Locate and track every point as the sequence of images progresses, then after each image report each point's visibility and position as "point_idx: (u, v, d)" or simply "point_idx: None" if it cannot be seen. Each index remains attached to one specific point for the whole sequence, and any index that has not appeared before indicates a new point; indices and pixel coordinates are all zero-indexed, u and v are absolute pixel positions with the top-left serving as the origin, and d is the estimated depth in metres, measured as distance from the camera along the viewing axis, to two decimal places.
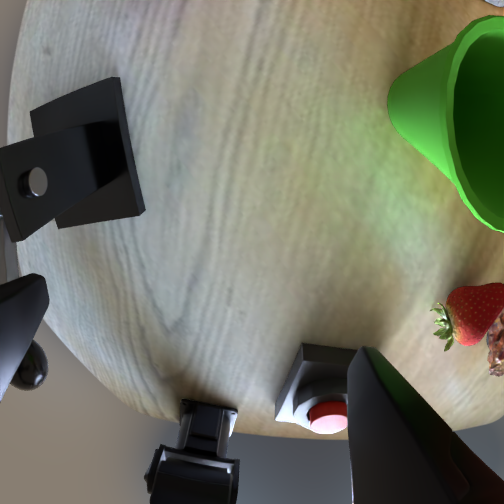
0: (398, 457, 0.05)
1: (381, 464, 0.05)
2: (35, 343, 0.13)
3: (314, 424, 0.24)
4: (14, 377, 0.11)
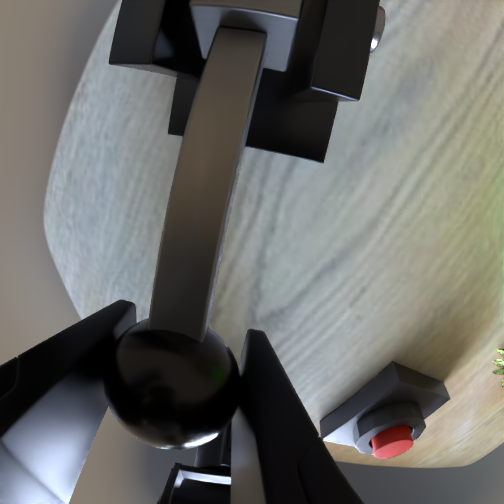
0: (248, 453, 0.04)
1: (240, 459, 0.05)
2: None
3: (382, 448, 0.20)
4: (185, 435, 0.05)
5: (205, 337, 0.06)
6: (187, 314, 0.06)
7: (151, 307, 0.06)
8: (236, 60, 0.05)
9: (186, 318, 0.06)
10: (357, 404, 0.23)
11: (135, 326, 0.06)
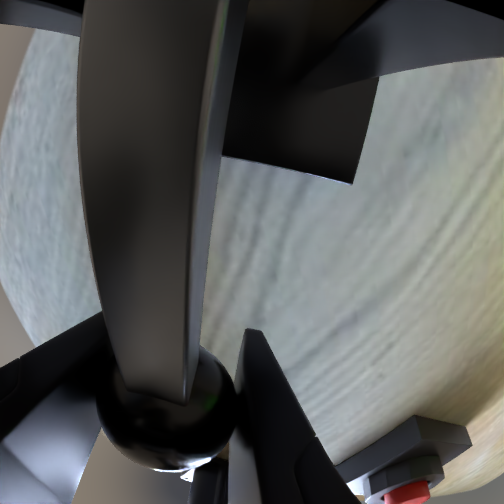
0: (244, 453, 0.04)
1: (237, 458, 0.05)
2: (215, 366, 0.06)
3: None
4: None
5: (191, 396, 0.05)
6: (164, 391, 0.04)
7: (123, 379, 0.04)
8: None
9: (164, 394, 0.04)
10: (370, 459, 0.18)
11: (114, 375, 0.05)
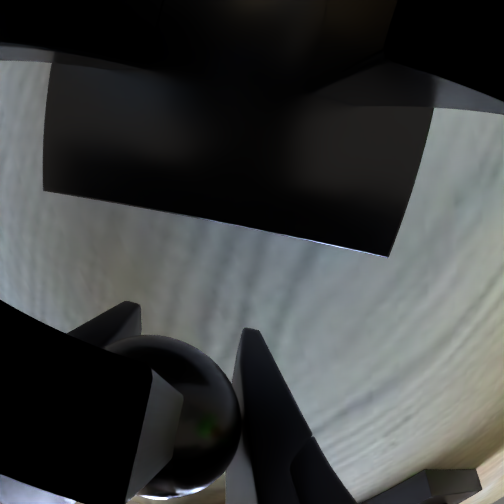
0: (241, 452, 0.04)
1: (234, 458, 0.05)
2: (209, 394, 0.04)
3: None
4: None
5: (175, 448, 0.03)
6: None
7: (85, 440, 0.03)
8: None
9: None
10: None
11: None
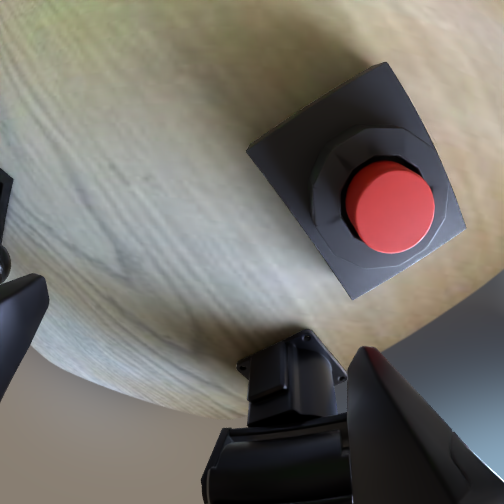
0: (398, 457, 0.05)
1: (381, 464, 0.05)
2: None
3: (367, 234, 0.12)
4: None
5: None
6: None
7: None
8: None
9: None
10: None
11: None
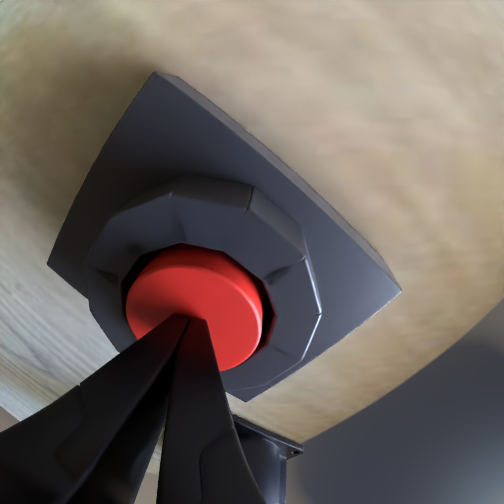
0: None
1: None
2: None
3: None
4: None
5: None
6: None
7: None
8: None
9: None
10: None
11: None
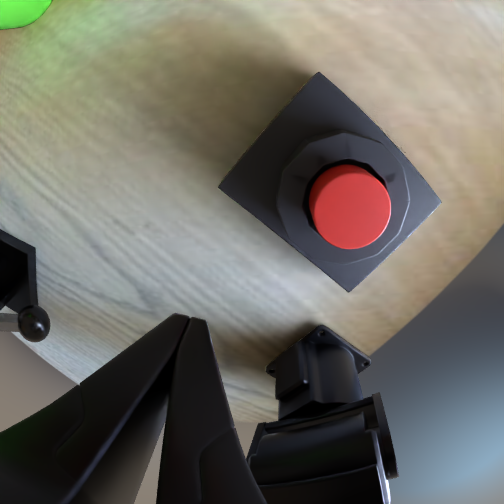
0: None
1: None
2: (21, 310, 0.19)
3: (331, 237, 0.14)
4: (35, 331, 0.19)
5: (17, 320, 0.18)
6: (13, 325, 0.18)
7: (14, 331, 0.19)
8: None
9: (14, 326, 0.18)
10: None
11: None
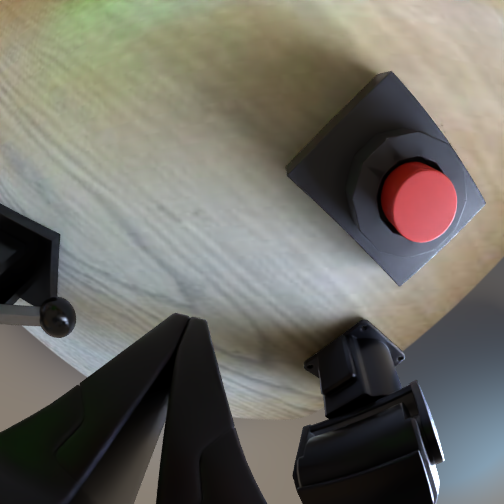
0: None
1: None
2: (43, 302, 0.18)
3: (406, 230, 0.13)
4: (61, 326, 0.18)
5: (39, 313, 0.18)
6: (34, 319, 0.17)
7: None
8: None
9: (35, 319, 0.17)
10: None
11: None
